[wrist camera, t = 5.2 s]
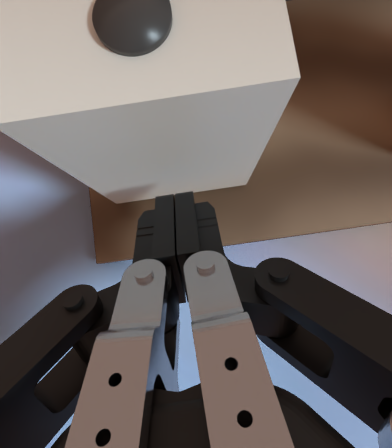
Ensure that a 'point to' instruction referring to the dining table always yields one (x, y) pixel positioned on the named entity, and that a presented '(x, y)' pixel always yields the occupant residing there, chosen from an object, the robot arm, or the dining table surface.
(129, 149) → the one dot button
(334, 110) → the console
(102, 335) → the robot arm
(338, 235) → the dining table surface
